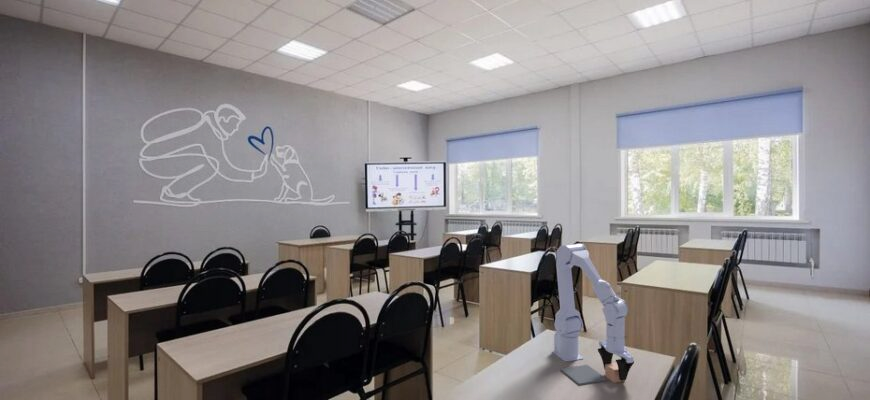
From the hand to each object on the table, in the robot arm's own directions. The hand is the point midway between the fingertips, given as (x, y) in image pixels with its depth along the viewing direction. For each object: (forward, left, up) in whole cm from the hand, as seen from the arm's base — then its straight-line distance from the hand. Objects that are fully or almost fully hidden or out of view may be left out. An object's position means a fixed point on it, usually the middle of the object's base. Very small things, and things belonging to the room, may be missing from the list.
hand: (615, 374), depth 137 cm
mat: (-5, -9, -1) cm, 10 cm away
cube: (0, 0, -2) cm, 2 cm away
